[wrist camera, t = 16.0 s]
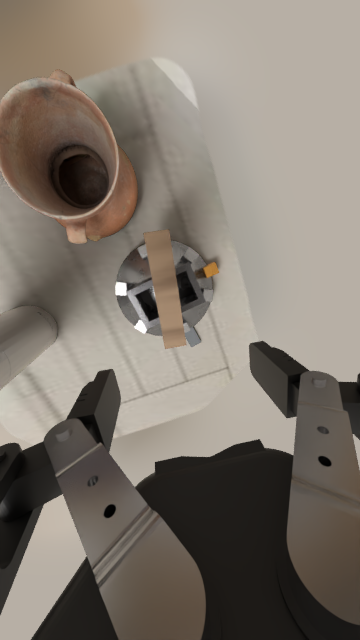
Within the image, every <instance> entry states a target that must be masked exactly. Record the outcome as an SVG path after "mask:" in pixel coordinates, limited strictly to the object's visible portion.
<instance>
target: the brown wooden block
mask: <svg viewBox="0 0 360 640" xmlns="http://www.w3.org/2000/svg"><path fill="white" fill-rule="evenodd" d="M144 239H145V244H146V249H147V255H148V260H149V265H150V271H151V276H152V281H153V287H154V292H155V298H156V303H157V308H158V314H159V319H160V324H161V330H162V335H163V340H164V346H165V349H168V348H173V347H179V346H184V345H186V339H185V332H184V326H183V319H182V312H181V306H180V299H179V292H178V286H177V279H176V272H175V266H174V259H173V252H172V246H171V239H170V232H169V229H167V230H160V231H154V232H147V233H144Z"/></svg>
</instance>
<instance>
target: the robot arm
mask: <svg viewBox="0 0 360 640" xmlns="http://www.w3.org/2000/svg"><path fill="white" fill-rule="evenodd" d="M57 334H58V329H57V325H56V322H55V320H54V319H53V317H52V316H51V315H50V314H49V313H48V312H46V311H45V310H43V309H41V308H39V307H36V306H29V305H26V306H20V307H17V308H15V309H12V310H9V311H7V312H4V313H1V314H0V390H1V389H2V388H3V387H4V386H5V385H6V384H8V383H9V382H10V381H11V380H12V379H13V378H14V377H16V376H17V375H18V374H19V373H20V372H21V371H22V370H24V369H25V368H26V367H27V366H28V365H29V364H30V363H31V362H33V361H34V360H35V359H36V358H37V357H38V356H39V355H41V354H42V353H43V352H44V351H45V350H46V349H47V348H49V347H50V346H51V345H52V344H53V343H54V342H55V340H56V338H57ZM249 354H250V370H251V373H252V375H253V377H254V378H255V379H256V381H257V382H258V383H259V384H260V386H261V387H262V388H263V390H264V391H265V392H266V393H267V394H268V395H269V397H270V398H271V399H272V401H273V402H274V403H275V404H276V406H277V407H278V408H279V409H280V410H281V412H282V413H283V414H284V415H285V417H286V418H291V417H297V419H296V433H295V444H294V456H293V455H291V454H289V453H286V452H283V451H279V450H276V449H269V448H264V446H263V444H262V443H261V441H260V439H258V440H254V441H250V442H245V443H240V444H236V445H233V446H231V447H229V448H227V449H225V450H223V451H221V452H220V453H217V454H215V455H214V456H211V457H184V456H181V457H177V458H172V459H168V460H163V461H158V462H155V473H153V474H151V475H149V476H148V477H146V478H145V479H143V480H142V481H141V482H140V483H139V484H138V485H137V486H136V487H134V486H133V484H132V483H131V482H130V480H129V479H128V478H127V477H126V475H125V474H124V473H123V471H122V470H121V469H120V467H119V466H118V464H117V463H116V462H115V461H114V459H113V458H112V456H111V455H110V454H109V451H110V446H111V442H112V438H113V433H114V429H115V425H116V420H117V416H118V412H119V407H120V402H121V396H120V391H119V387H118V384H117V380H116V376H115V373H114V370H113V369H109V370H103V371H99V372H98V373H97V375H96V377H95V379H94V381H92V382H89V383H88V384H87V385H86V386H85V387H84V388H83V389H82V391H81V393H80V395H79V397H78V398H77V400H76V402H75V404H74V406H73V408H72V409H71V411H70V413H69V415H68V417H67V419H66V420H65V421H62V422H60V423H59V424H57V425H55V426H54V427H53V428H52V429H51V430H50V431H49V432H48V433H47V434H46V436H45V438H44V441H43V442H41V443H39V444H36V445H34V446H32V447H30V448H27V449H25V450H23V451H22V449H21V448H20V445H19V444H17V443H8V444H5V445H3V446H0V614H1V612H2V609H3V607H4V604H5V602H6V599H7V597H8V594H9V592H10V589H11V587H12V584H13V581H14V579H15V576H16V574H17V571H18V568H19V566H20V564H21V561H22V559H23V556H24V553H25V550H26V548H27V546H28V543H29V541H30V538H31V536H32V533H33V530H34V528H35V525H36V523H37V520H38V518H39V515H40V513H41V510H42V508H43V505H44V504H45V503H47V502H48V501H50V500H52V499H54V498H56V497H58V496H60V495H62V494H63V496H64V498H65V501H66V503H67V506H68V509H69V511H70V514H71V516H72V519H73V521H74V524H75V527H76V529H77V532H78V534H79V537H80V539H81V542H82V544H83V547H84V550H85V552H86V555H87V557H86V559H85V560H84V561H83V563H82V564H81V566H80V567H79V569H78V570H77V572H76V573H75V575H74V576H73V578H72V579H71V581H70V582H69V584H68V585H67V587H66V588H65V590H64V591H63V593H62V594H61V596H60V597H59V598H58V600H57V601H56V603H55V605H54V606H53V607H52V609H51V610H50V612H49V613H48V615H47V616H46V618H45V619H44V621H43V622H42V624H41V625H40V627H39V628H38V630H37V631H36V633H35V634H34V636H33V637H32V639H31V640H360V470H359V465H358V460H357V456H356V450H355V445H354V440H353V435H352V434H355V436H356V437H357V438H358V439H359V440H360V374H358V378H357V382H338V381H337V380H336V379H335V378H334V377H333V376H331V375H329V374H327V373H323V372H319V371H309V370H308V369H306V368H305V367H304V366H302V365H301V364H300V363H298V362H297V361H296V360H294V359H293V358H292V357H290V356H289V355H288V354H287V353H285V352H284V351H282V350H280V349H277V348H274V347H273V348H272V347H270V346H269V345H268V344H267V343H265V342H264V341H260V342H255V343H250V345H249Z"/></svg>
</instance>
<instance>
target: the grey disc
mask: <svg viewBox="0 0 360 640" xmlns="http://www.w3.org/2000/svg"><path fill="white" fill-rule="evenodd" d="M171 246H172V252H173V259H174V266H175V272H176V279H177V286H178V292H179V299H180V306H181V312H182V319H183V326H184V332H185V333H186V332H188V331H190V328H192V327H193V326H194V325H196V324H197V323H198V322H199V321H200V320H201V319H202V317H203V316H204V314H205V313H206V311H207V309H208V307H209V305H210V302H212V297H213V290H212V289H213V288H212V279H211V276H213V275H215V274H217V273H219V271H218V268H217V266H216V263H215V262H212V263H209V264H207V265H206V263H205V262H204V260H203V259H202V258H201V256H200V255H199V254H198V253H197V252H196V251H194V250H193V249H192V248H190V247H189V246H187V245H185V244H183V243H180V242H177V241H172V240H171ZM116 295H117V300H118V303H119V306H120V308H121V310H122V312H123V314H124V315H125V317H126V318H127V319H128V320H129V321H130V322H131V323H132V324H133V325H134V326H135V327H134V328H136V329H138V330H139V331H141V332H143V333H145V332H146V333H149V334H152V335H157V336H163V335H162V330H161V324H160V319H159V314H158V308H157V303H156V298H155V292H154V287H153V281H152V276H151V271H150V265H149V260H148V255H147V249H146V244H143V245H141V246H140V247H138V248H136V249H135V250H134V251H133V252H131V253H130V254H129V255H128V256H127V258H126V259H125V260H124V262H123V264H122V265H121V267H120V270H119V272H118V275H117V280H116Z"/></svg>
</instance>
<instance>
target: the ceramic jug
mask: <svg viewBox="0 0 360 640" xmlns="http://www.w3.org/2000/svg"><path fill="white" fill-rule="evenodd" d="M0 172H1V173H2V175H3V177H4V179H5V181H6V182H7V184H8V185H9V187H10V188H11V189H12V191H13V192H14V193H15V194H16V195H17V196H18V197H19V198H20V199H21V200H22V201H23V202H24V203H25V204H27V205H28V206H29V207H31V208H32V209H34V210H36V211H38V212H39V213H42V214H44V215H46V216H49V217H52V218H55V219H56V220H57V221H58V222H59V223H60V224H61V225H62V226H64V227H65V228H66V232H67V236H68V240H69V241H70V242H72V243H77V244H78V243H86V242H87V238H88V239H91V240H93V241H98V240H100V239H101V238H103V237H106V236H110V235H112V234H114V233H116V232H118V231H119V230H121V229H122V228H123V227H124V226H125V225H126V224H127V223H128V222H129V220H130V219H131V217H132V215H133V213H134V211H135V208H136V204H137V197H138V186H137V179H136V175H135V172H134V169H133V167H132V164H131V162H130V160H129V158H128V157H127V155H126V154H125V152H124V151H123V150H122V149H121V147H120V146H119V145H118V144H117V143H116V139H115V136H114V134H113V131H112V129H111V127H110V124H109V123H108V121H107V119H106V117H105V116H104V114H103V113H102V111H101V110H100V109H99V107H98V106H97V105H96V104H95V103H94V101H93V100H91V99H90V97H88V96H87V95H86V94H85V93H84V92H82V91H81V90H80V89H78V88H76V85H75V83H74V81H73V79H72V77H71V76H70V75H68V74H67V73H65V72H64V71H62V70H60V69H57V70H55V71H54V72H53V73H52V74H51V75H50V77H49V78H46V77H36V78H32V79H29V80H25V81H23V82H20V83H18V84H16V85H15V86H13V87H12V88H11V89H10V90H8V92H7V93H6V95H5V96H4V97H3V98H2V100H1V102H0Z"/></svg>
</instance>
